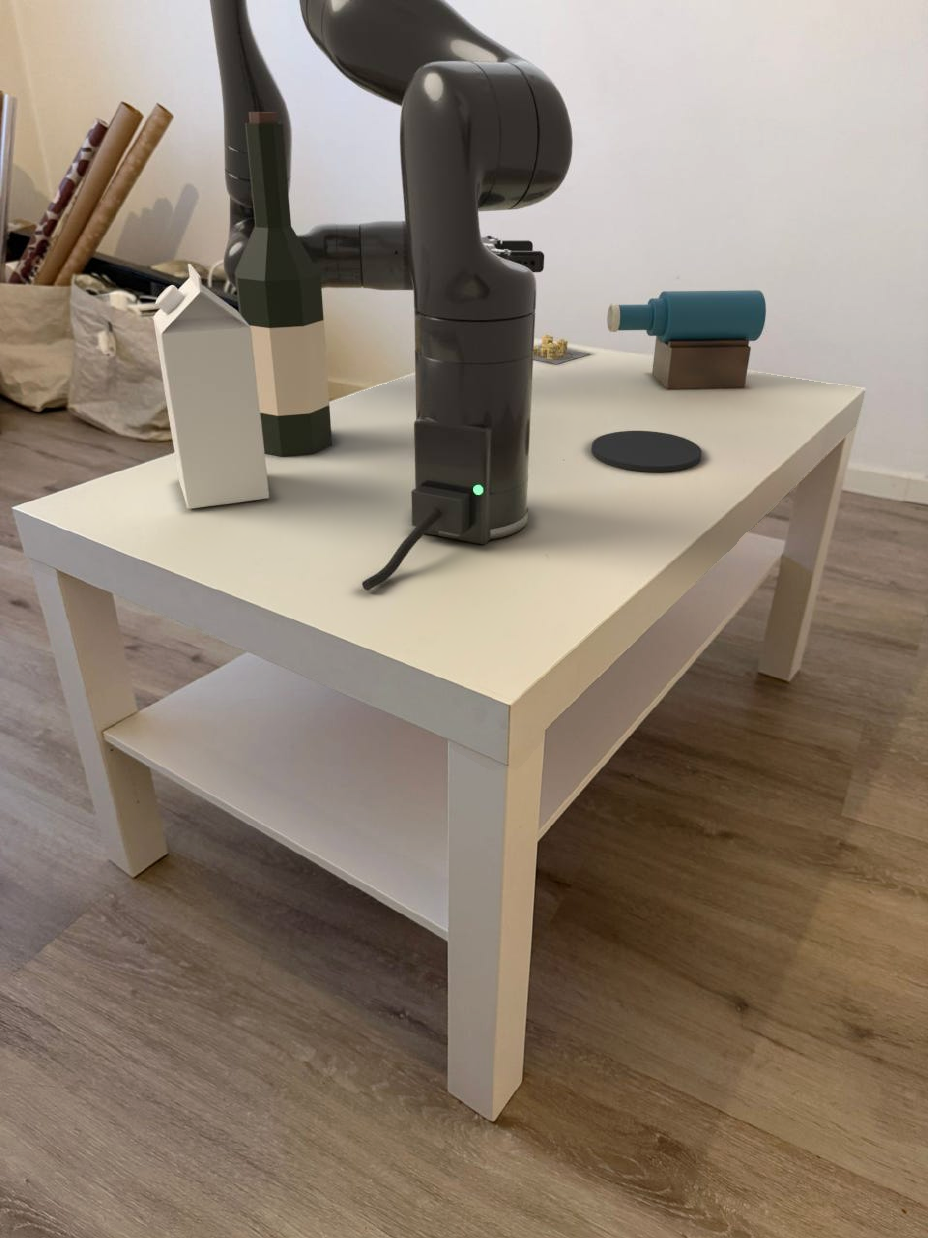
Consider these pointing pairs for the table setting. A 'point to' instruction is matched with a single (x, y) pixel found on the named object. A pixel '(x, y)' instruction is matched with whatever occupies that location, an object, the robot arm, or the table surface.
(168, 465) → the table surface
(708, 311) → the bottle
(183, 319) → the milk carton
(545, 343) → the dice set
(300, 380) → the wine bottle
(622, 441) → the coaster
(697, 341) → the cradle
